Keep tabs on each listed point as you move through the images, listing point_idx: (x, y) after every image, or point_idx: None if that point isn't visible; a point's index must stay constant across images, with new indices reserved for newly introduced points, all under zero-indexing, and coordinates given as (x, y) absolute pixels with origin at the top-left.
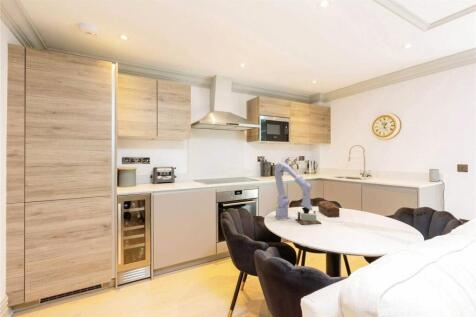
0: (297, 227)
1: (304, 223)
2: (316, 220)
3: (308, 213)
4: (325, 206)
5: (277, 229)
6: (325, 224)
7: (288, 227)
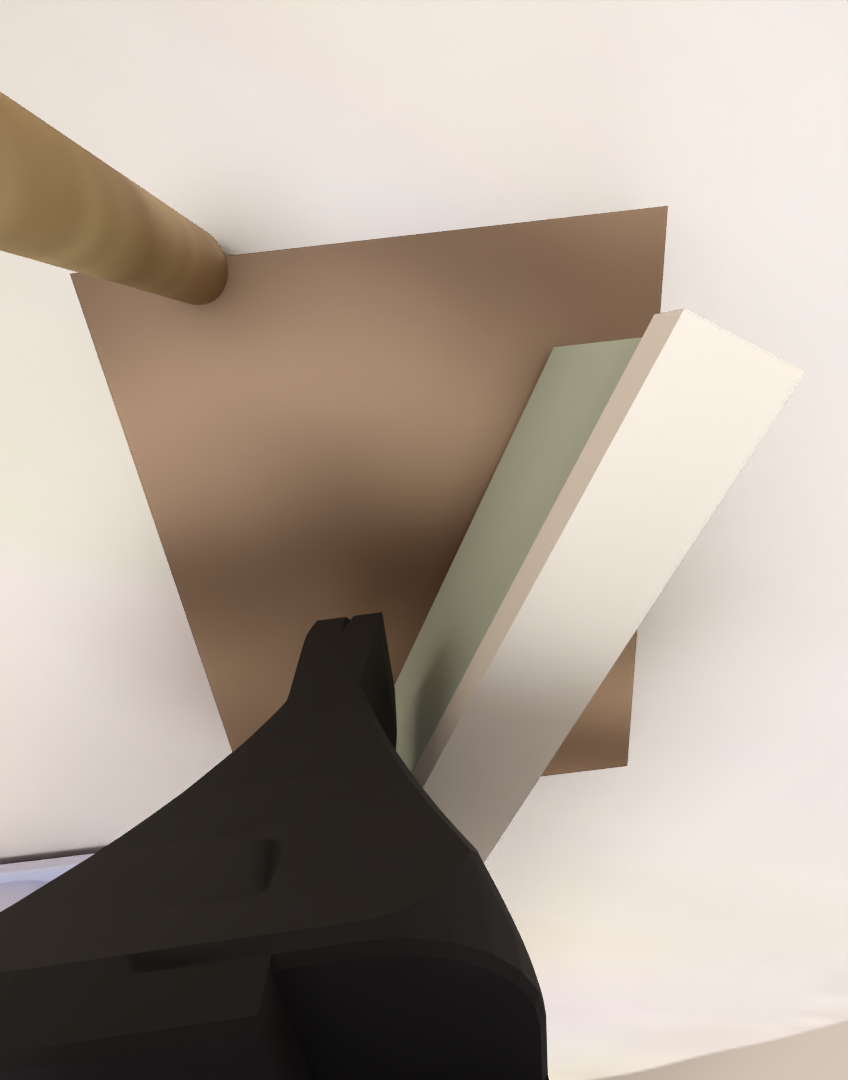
0: (713, 830)
1: (625, 714)
2: (417, 287)
3: (469, 725)
4: None
5: (701, 1036)
6: (739, 77)
7: (667, 933)
